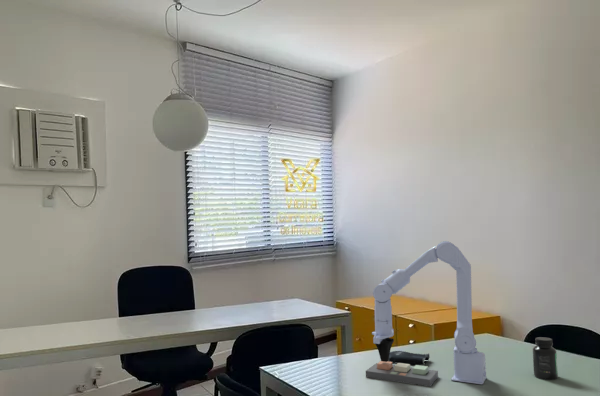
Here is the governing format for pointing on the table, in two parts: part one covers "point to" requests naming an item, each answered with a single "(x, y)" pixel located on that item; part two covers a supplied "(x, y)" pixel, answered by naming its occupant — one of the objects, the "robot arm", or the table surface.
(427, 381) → the keypad
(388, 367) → the terracotta key
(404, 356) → the electronic device
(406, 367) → the sand key
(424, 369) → the sage key
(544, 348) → the supplement bottle
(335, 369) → the table surface
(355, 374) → the table surface
